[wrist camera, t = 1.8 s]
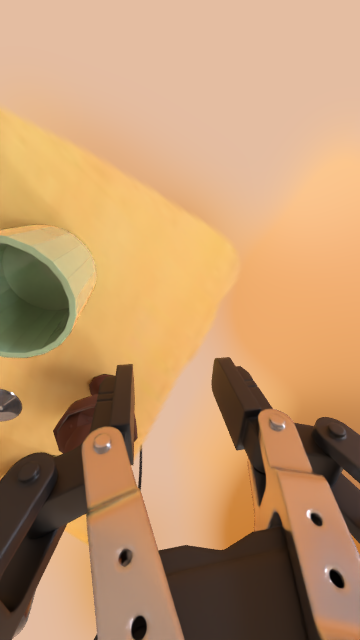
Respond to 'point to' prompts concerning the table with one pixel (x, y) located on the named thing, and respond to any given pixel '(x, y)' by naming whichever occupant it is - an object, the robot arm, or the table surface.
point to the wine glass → (9, 405)
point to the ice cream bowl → (79, 420)
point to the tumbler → (41, 288)
